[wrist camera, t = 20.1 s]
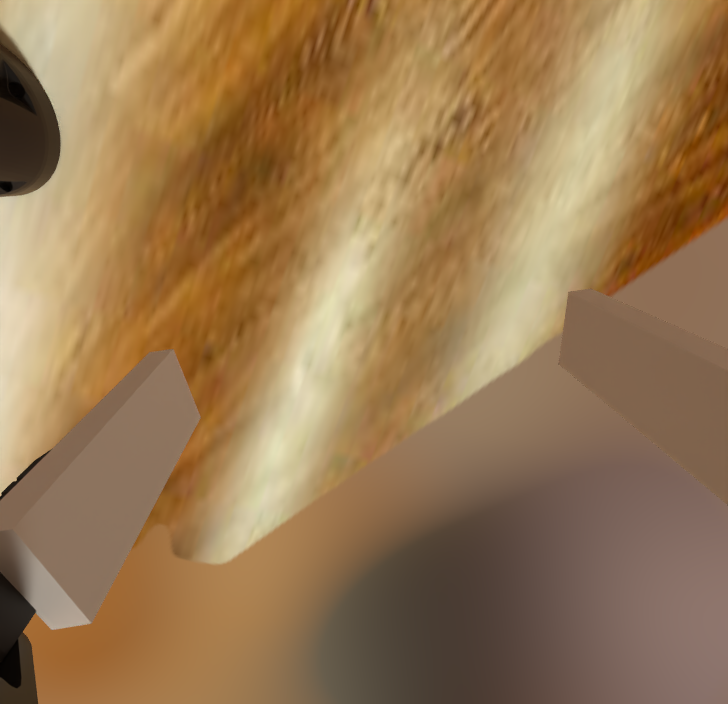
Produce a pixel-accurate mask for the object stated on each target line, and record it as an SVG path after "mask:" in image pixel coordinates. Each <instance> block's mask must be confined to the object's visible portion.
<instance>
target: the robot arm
mask: <svg viewBox="0 0 728 704" xmlns="http://www.w3.org/2000/svg"><path fill="white" fill-rule="evenodd" d="M59 156H60V133H59V127H58V123H57V120H56V116H55V113H54V111H53V108H52V106H51V104H50V102H49V100H48V98H47V96H46V94H45V92H44V91H43V89H42V87H41V86H40V84H39V83H38V81H37V80H36V79H35V77H34V76H33V75H32V73H31V72H30V71H29V70H28V69H27V67H26V66H25V65H24V64H23V63H22V62H21V61H20V60H19V59H18V58H17V57H16V56H15V55H14V54H12V53H11V52H10V51H9V50H8V49H6V48H5V47H4V46H3V45H1V44H0V197H5V196H18V195H24V194H28V193H30V192H33V191H35V190H37V189H39V188H40V187H41V186H43V185H44V184H45V183H46V182H47V181H48V180H49V179H50V178H51V176H52V175H53V173H54V171H55V169H56V167H57V164H58V161H59ZM558 364H559V365H560V366H561V367H562V368H564V369H565V370H566V371H567V372H569V373H570V374H571V375H572V376H573V377H574V378H576V379H577V380H578V381H579V382H581V383H582V384H583V385H584V386H585V387H586V388H588V389H589V390H590V391H591V392H592V393H594V394H595V395H596V396H597V397H599V398H600V399H601V400H602V401H603V402H604V403H606V404H607V405H608V406H609V407H611V408H612V409H613V410H614V411H616V413H618V414H619V415H620V416H621V417H622V418H624V419H625V420H626V421H627V422H628V423H630V424H631V425H632V426H633V427H634V428H636V429H637V430H638V431H639V432H641V433H642V434H643V435H644V436H645V437H646V438H648V439H649V440H650V441H651V442H652V443H654V444H655V445H656V446H658V448H660V449H661V450H662V451H663V452H665V453H666V454H667V455H668V456H669V457H671V458H672V459H673V460H674V461H675V462H676V463H678V464H679V465H680V466H681V467H683V468H684V469H685V470H686V471H687V472H689V473H690V474H691V475H692V476H693V477H694V478H696V479H697V480H698V481H699V482H700V483H702V484H703V485H704V486H705V487H707V488H708V489H709V490H710V491H711V492H712V493H714V494H715V495H716V496H717V497H719V498H720V499H721V500H722V501H723V502H724V503H726V504H727V505H728V349H727V348H725V347H722V346H720V345H718V344H716V343H713V342H711V341H709V340H706V339H704V338H702V337H699V336H697V335H695V334H693V333H690V332H688V331H686V330H684V329H681V328H679V327H677V326H675V325H672V324H670V323H668V322H666V321H663V320H661V319H659V318H657V317H654V316H652V315H650V314H647V313H645V312H643V311H641V310H638V309H636V308H634V307H632V306H629V305H627V304H624V303H623V302H620V301H618V300H616V299H613V298H611V297H609V296H607V295H604V294H602V293H600V292H598V291H595V290H593V289H585V290H578V291H571V292H568V299H567V306H566V313H565V321H564V328H563V335H562V342H561V350H560V356H559V363H558ZM200 418H201V417H200V415H199V412H198V410H197V407H196V405H195V402H194V400H193V397H192V395H191V392H190V390H189V387H188V385H187V382H186V380H185V377H184V375H183V372H182V370H181V367H180V365H179V362H178V360H177V357H176V355H175V352H174V350H173V349H170V350H163V351H156V352H149V353H148V354H147V355H146V356H145V357H144V358H143V359H142V360H141V361H140V362H139V363H138V364H137V365H136V366H135V367H134V368H133V369H132V370H131V371H130V372H129V373H128V374H127V375H126V376H125V377H124V378H123V379H122V380H121V381H120V382H119V383H118V384H117V385H116V386H115V387H114V388H113V389H112V390H111V391H110V392H109V393H108V394H107V395H106V396H105V397H104V398H103V399H102V400H101V401H100V402H99V403H98V404H97V405H96V406H95V407H94V408H93V409H92V410H91V411H90V412H89V413H88V414H87V415H86V416H85V417H84V418H83V419H82V420H81V421H80V422H79V423H78V424H77V425H76V426H75V427H74V428H73V429H72V430H71V431H70V432H69V433H68V434H67V435H66V436H65V437H64V438H63V439H62V440H61V441H60V442H59V443H58V444H57V445H56V446H55V447H54V448H53V449H51V450H50V451H48V452H47V453H45V454H44V455H42V456H41V457H39V458H38V459H36V460H35V461H34V462H33V463H32V464H31V465H30V466H29V467H28V468H27V469H26V470H25V471H24V472H22V473H21V474H20V475H19V476H18V477H17V481H14V482H12V483H11V484H10V485H9V486H8V487H7V488H6V489H5V490H4V491H3V492H2V496H0V704H38V699H37V690H36V681H35V673H34V664H33V655H32V646H31V643H30V641H29V639H28V637H27V636H26V635H25V634H24V633H23V630H24V629H25V627H26V626H27V624H28V623H29V621H30V620H31V618H32V617H33V615H34V614H35V613H36V614H37V615H38V616H39V617H40V618H41V619H42V620H43V621H44V622H45V623H46V624H47V625H48V626H49V627H50V629H51V630H54V629H60V628H67V627H73V626H79V625H85V624H91V623H92V622H93V620H94V618H95V616H96V614H97V612H98V610H99V608H100V606H101V605H102V603H103V601H104V599H105V597H106V595H107V593H108V591H109V590H110V587H111V586H112V584H113V582H114V580H115V578H116V576H117V574H118V573H119V571H120V569H121V567H122V565H123V563H124V561H125V559H126V557H127V556H128V554H129V552H130V550H131V548H132V546H133V544H134V542H135V540H136V539H137V537H138V535H139V533H140V531H141V529H142V527H143V525H144V523H145V522H146V520H147V518H148V516H149V514H150V512H151V510H152V508H153V506H154V505H155V503H156V501H157V499H158V497H159V495H160V493H161V491H162V489H163V488H164V486H165V484H166V482H167V480H168V478H169V476H170V474H171V472H172V471H173V469H174V467H175V465H176V463H177V461H178V459H179V457H180V455H181V454H182V452H183V450H184V448H185V446H186V444H187V442H188V440H189V438H190V437H191V435H192V433H193V431H194V429H195V427H196V425H197V423H198V421H199V420H200Z"/></svg>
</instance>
